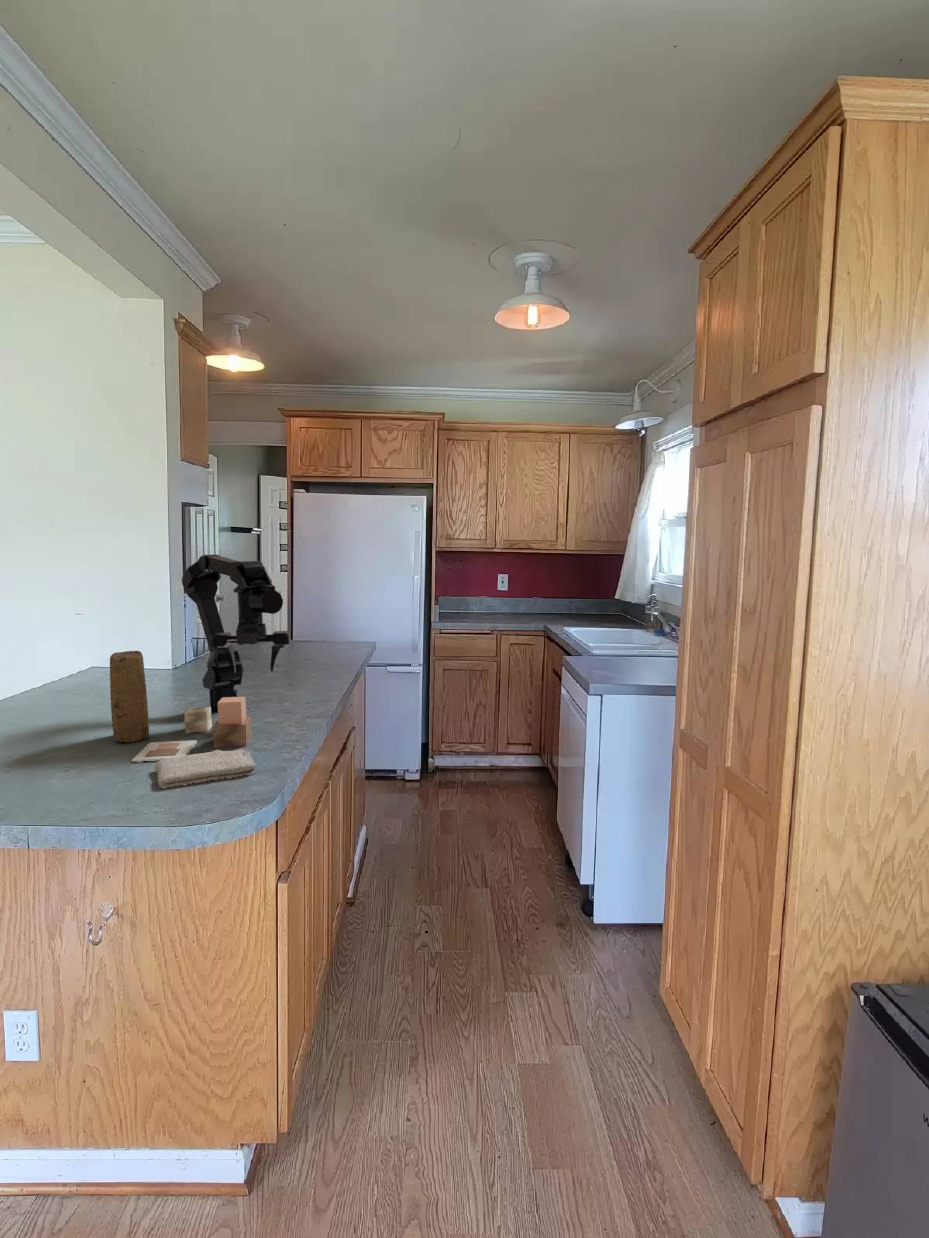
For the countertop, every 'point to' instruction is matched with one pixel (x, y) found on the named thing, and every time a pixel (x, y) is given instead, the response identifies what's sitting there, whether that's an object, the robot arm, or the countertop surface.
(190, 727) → the ash cube
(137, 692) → the block
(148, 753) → the card
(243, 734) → the walnut block
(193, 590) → the robot arm
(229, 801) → the countertop surface
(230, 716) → the terracotta cube
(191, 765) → the washcloth
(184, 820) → the countertop surface
